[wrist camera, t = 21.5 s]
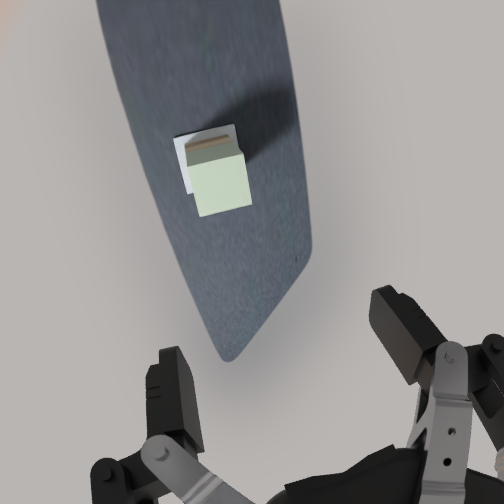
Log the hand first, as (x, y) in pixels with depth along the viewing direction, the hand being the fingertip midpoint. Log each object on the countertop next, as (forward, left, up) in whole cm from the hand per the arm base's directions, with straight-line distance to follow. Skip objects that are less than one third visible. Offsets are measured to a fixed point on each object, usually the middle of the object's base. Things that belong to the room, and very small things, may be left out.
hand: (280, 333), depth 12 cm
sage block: (+1, 0, -24) cm, 24 cm away
